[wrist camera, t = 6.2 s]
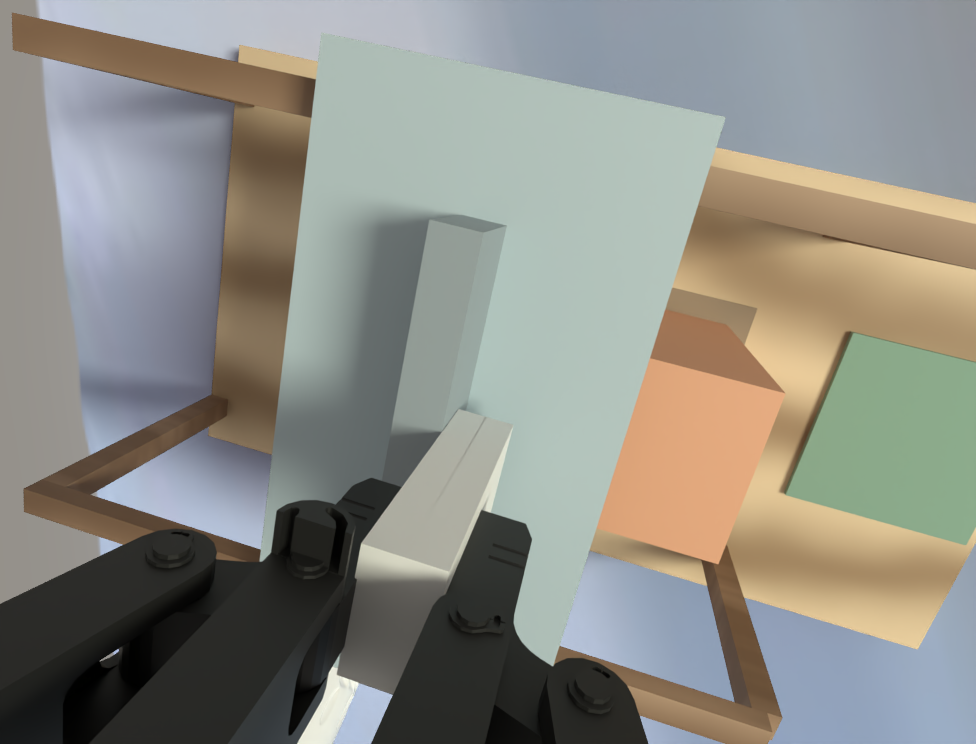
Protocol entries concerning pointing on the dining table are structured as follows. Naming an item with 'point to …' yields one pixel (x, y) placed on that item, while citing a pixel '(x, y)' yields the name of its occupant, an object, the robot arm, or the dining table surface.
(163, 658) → the robot arm
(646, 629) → the dining table surface
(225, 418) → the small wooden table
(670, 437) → the block
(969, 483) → the felt pad
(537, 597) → the lid
